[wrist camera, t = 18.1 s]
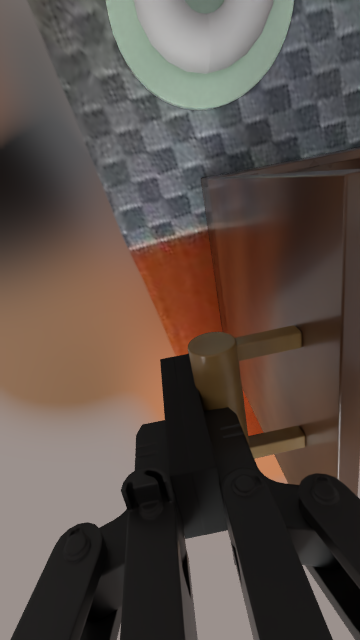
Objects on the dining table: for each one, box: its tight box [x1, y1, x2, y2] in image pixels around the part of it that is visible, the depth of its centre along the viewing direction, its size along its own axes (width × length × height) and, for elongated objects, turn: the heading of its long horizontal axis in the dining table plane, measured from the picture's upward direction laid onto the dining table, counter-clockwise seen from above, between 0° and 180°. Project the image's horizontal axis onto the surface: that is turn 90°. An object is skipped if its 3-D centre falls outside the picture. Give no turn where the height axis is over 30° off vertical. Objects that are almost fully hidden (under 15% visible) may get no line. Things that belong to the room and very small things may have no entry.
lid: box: [188, 169, 360, 496], centre depth 18 cm, size 17×16×5 cm
